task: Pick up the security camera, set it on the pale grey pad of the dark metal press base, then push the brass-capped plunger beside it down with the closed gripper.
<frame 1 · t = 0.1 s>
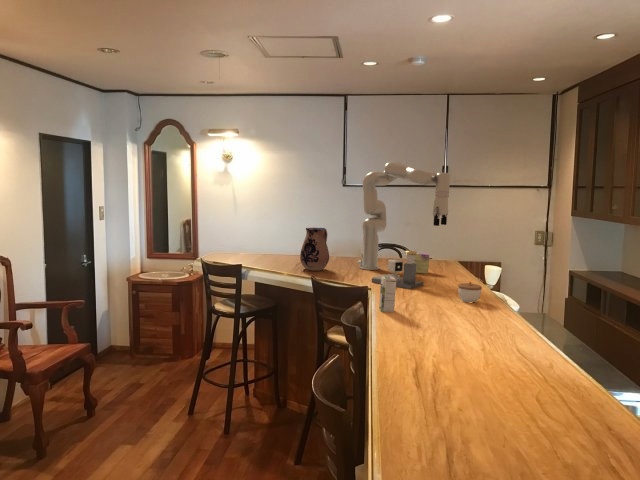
hand: (440, 225, 293), 31 cm above the table, tool pointing down, fingers open, 9 cm apart
ceramic pitcher: (315, 269, 315), on the table
box: (419, 272, 317), on the table
press base: (397, 283, 281), on the table
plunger: (410, 262, 275), point 13 cm above the table, slide at 0.0 cm
security camera: (394, 277, 299), on the table
syrup box: (386, 310, 225), on the table
lidded jar: (468, 301, 247), on the table
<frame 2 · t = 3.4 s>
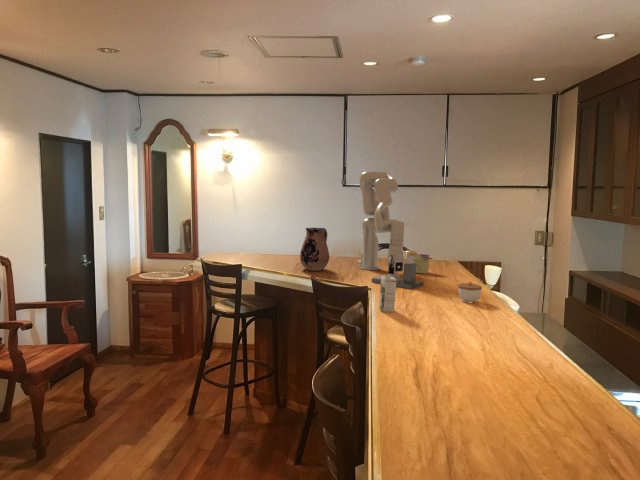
hand: (395, 272, 299), 3 cm above the table, tool pointing down, fingers closed on security camera, 8 cm apart
security camera: (394, 277, 299), on the table, touching gripper
everything else where it was.
when the fingers open (6 cm above the table, at t = 9.8 s): security camera drops 1 cm, resting on press base.
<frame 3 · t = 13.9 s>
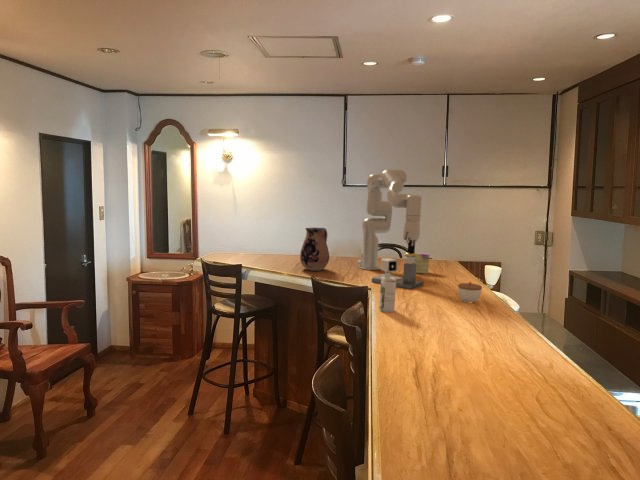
hand: (411, 253, 275), 18 cm above the table, tool pointing down, fingers closed
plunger: (410, 263, 275), point 12 cm above the table, slide at 0.9 cm, touching gripper
security camera: (387, 277, 285), point 2 cm above the table, touching press base
everything else where it was.
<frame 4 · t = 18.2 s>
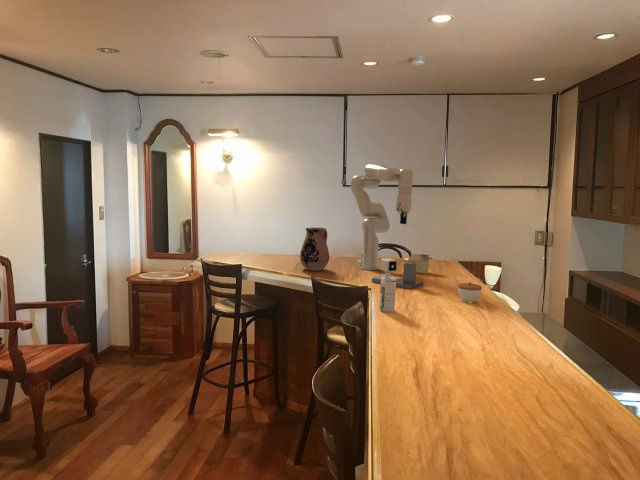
hand: (403, 223, 294), 31 cm above the table, tool pointing down, fingers closed
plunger: (409, 269, 276), point 9 cm above the table, slide at 3.9 cm
everything else where it was.
at the end: security camera 0.4 cm from the target spot on the press base, point 2.4 cm above the press base's base; security camera tilted 0°; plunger slide at 3.9 cm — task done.
